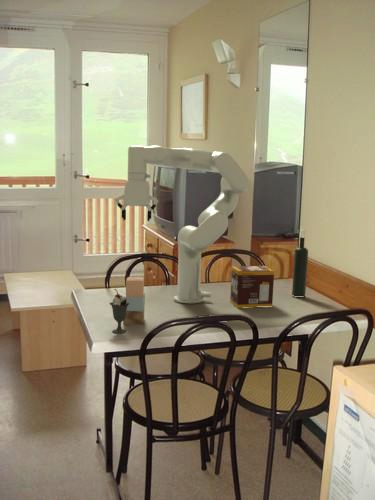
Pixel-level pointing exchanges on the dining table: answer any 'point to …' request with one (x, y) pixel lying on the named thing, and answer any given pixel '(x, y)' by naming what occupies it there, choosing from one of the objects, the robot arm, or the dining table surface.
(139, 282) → the cube
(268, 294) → the supplement box
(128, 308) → the block top
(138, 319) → the block bottom
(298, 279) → the wine bottle
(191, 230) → the robot arm
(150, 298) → the dining table surface
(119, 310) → the sundae
